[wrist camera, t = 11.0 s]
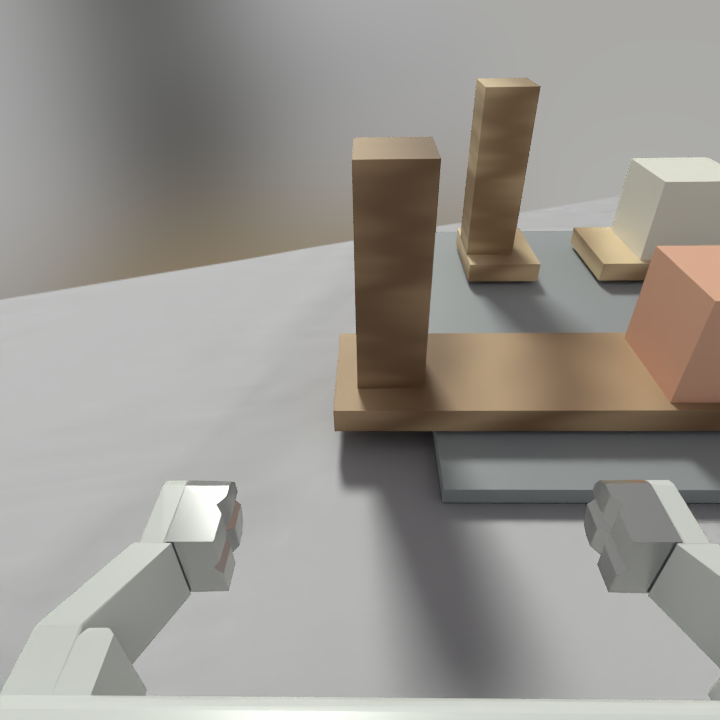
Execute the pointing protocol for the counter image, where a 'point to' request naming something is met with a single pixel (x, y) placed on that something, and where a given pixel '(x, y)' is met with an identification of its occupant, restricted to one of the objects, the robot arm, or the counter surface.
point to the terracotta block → (680, 323)
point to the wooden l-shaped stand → (467, 334)
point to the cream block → (669, 204)
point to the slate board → (553, 448)
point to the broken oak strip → (583, 242)
